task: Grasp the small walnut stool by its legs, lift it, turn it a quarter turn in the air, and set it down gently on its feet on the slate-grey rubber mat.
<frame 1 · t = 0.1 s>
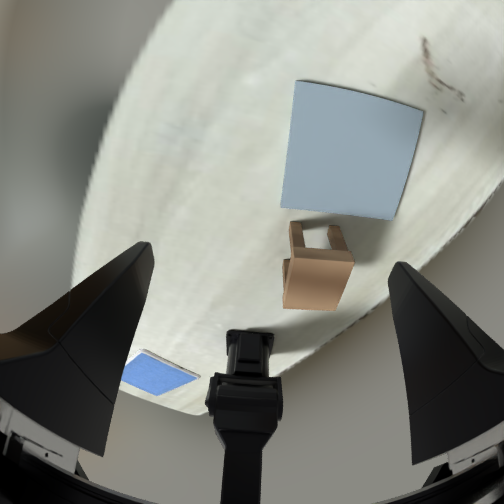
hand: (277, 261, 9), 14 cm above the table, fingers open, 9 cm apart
tablet computer: (152, 372, 49), on the table
slate mat: (352, 155, 21), on the table
walnut stool: (309, 247, 27), on the table
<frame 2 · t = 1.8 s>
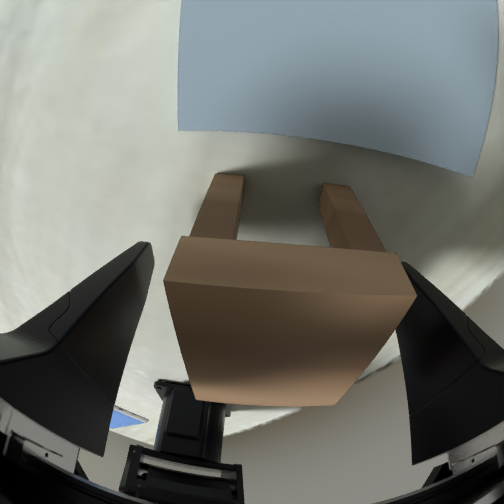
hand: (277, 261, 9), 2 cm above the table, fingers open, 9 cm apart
tablet computer: (96, 405, 33), on the table
walnut stool: (275, 243, 11), on the table
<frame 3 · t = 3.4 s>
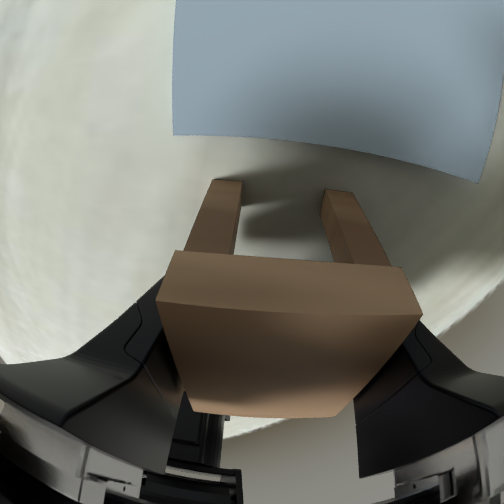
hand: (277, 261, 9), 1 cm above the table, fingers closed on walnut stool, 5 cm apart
walnut stool: (275, 251, 11), on the table, touching gripper
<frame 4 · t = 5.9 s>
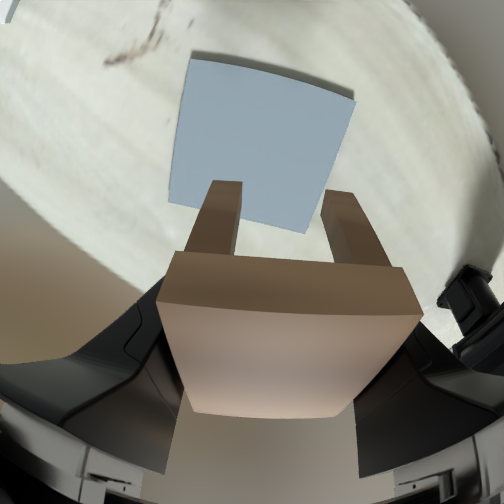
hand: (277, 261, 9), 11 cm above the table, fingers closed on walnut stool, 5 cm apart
slate mat: (254, 148, 18), on the table
walnut stool: (275, 251, 11), point 10 cm above the table, touching gripper
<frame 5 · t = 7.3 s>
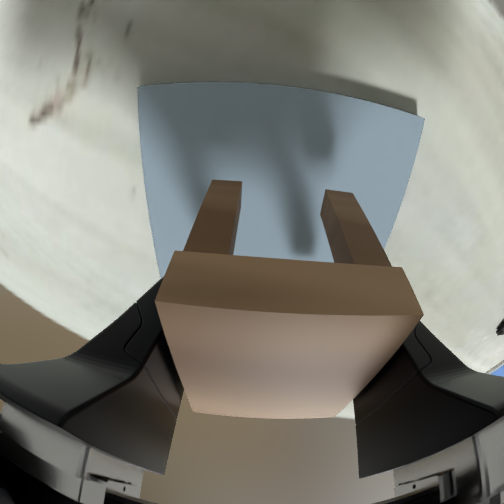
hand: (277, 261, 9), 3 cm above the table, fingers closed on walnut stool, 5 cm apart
tablet computer: (498, 372, 29), on the table
slate mat: (273, 213, 12), on the table
walnut stool: (275, 251, 11), point 2 cm above the table, touching gripper
when the fingers open (3 cm above the table, at t = 8.4 s): walnut stool stays where it is, resting on slate mat.
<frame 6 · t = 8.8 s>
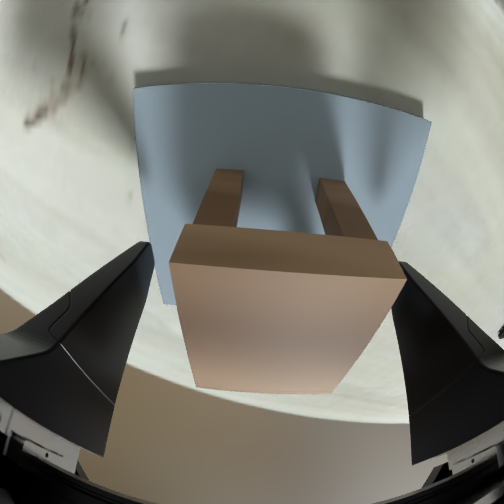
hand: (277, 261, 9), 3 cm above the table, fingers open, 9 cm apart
slate mat: (274, 218, 12), on the table
walnut stool: (273, 236, 11), point 1 cm above the table, touching slate mat
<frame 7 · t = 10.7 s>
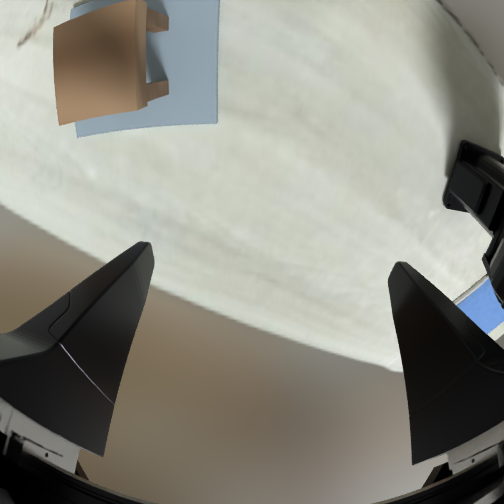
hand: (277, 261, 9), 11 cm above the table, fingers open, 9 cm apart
tablet computer: (484, 305, 30), on the table
slate mat: (137, 54, 13), on the table
walnut stool: (134, 60, 13), point 1 cm above the table, touching slate mat
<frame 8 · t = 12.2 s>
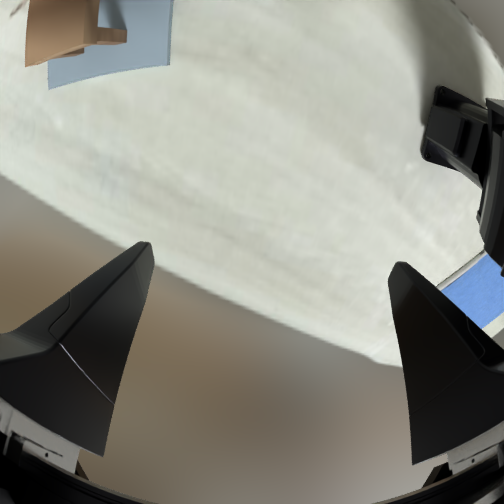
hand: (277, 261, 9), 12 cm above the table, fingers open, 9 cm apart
tablet computer: (479, 293, 28), on the table
slate mat: (104, 12, 11), on the table
walnut stool: (100, 17, 11), point 1 cm above the table, touching slate mat
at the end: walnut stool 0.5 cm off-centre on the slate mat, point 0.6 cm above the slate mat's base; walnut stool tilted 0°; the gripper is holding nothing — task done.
